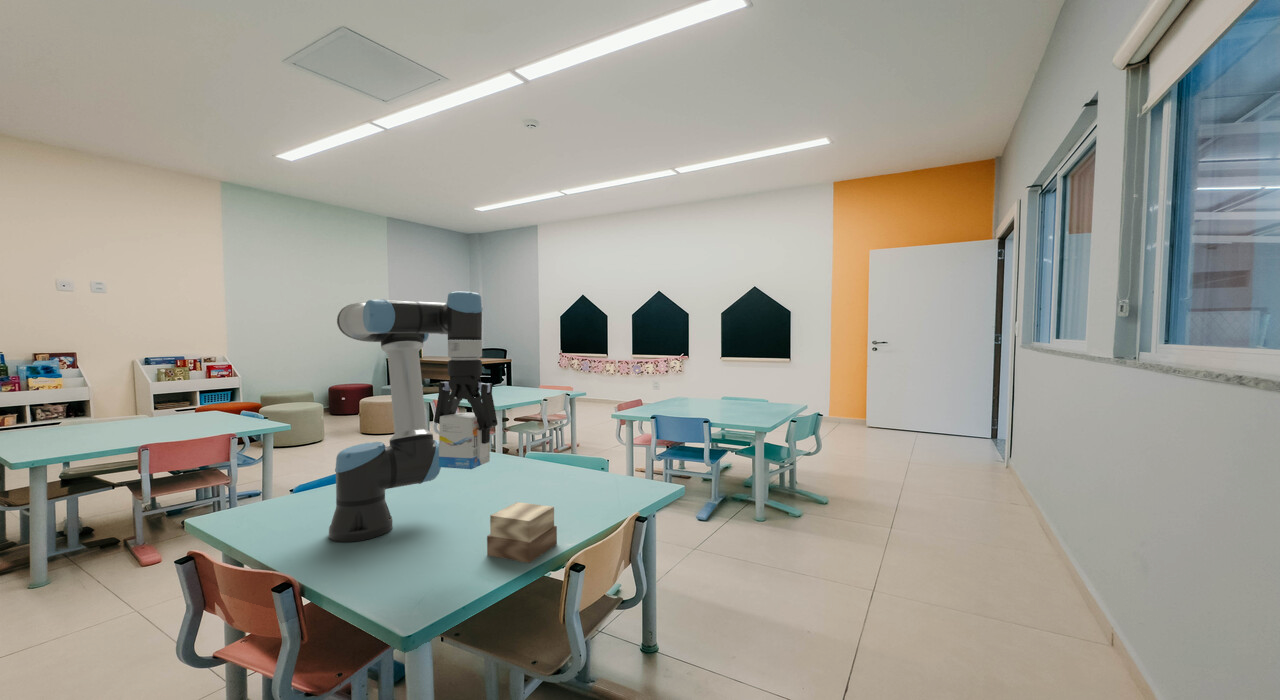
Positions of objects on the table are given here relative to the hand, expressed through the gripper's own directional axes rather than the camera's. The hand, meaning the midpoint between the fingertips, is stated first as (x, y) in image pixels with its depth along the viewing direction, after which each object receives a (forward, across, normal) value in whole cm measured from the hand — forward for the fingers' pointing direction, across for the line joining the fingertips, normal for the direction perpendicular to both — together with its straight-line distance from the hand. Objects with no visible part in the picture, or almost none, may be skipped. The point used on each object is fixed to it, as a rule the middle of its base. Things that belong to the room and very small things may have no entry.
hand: (465, 455), depth 118 cm
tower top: (+20, +9, +10) cm, 24 cm away
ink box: (+2, 0, 0) cm, 2 cm away
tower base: (+25, +8, +11) cm, 29 cm away
